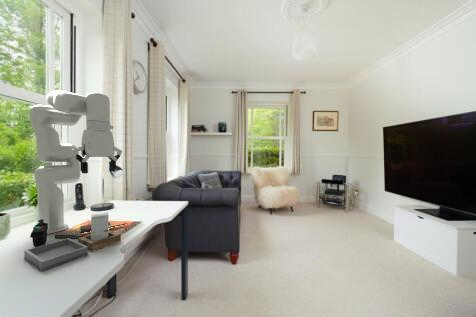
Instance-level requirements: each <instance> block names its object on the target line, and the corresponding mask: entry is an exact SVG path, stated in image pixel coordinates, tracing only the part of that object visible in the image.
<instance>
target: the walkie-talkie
mask: <svg viewBox="0 0 476 317" xmlns="http://www.w3.org/2000/svg"><path fill="white" fill-rule="evenodd" d="M125 224H127V225H128V223H127V222H126V223H125V222H124V223H121V224H116V225H112V224H111V222H110V221H108V228H111V227H115V226H120V225H123V226H126V225H125ZM79 227H80V228H79V230H81V232H80V231H79V233H84V232H90V231H91V222H88V224H86V225H80V226H79ZM120 227H121V226H120ZM79 233H78V234H79Z"/></svg>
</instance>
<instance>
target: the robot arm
mask: <svg viewBox="0 0 476 317" xmlns="http://www.w3.org/2000/svg"><path fill="white" fill-rule="evenodd" d="M46 102H47V104H48V105H45V104H37V105H33V106H31V108H30V109H29V116H28V117H29V121H30V125H31V127H32V128H33V131H34V133H35V140H36V141H35V142H36V153H37V154H36V155H37V159H38V160H39V162H41V163H48V165H47V164H46V165H42V166H39V167H37V168H36V169H35V170H34V173H33V175H34V181H35V185H36V191H37V192H36V194H37V224H38V223H39V222H38V220H41V219H44V221H43V222H44V223H48V229H47V235H49V234H54V233H58V232H59V233H60V232H62V231H65V230H67V229H68V228H69V225H68V224H67V223H65V210H64V208H65V205H64V204H65V203H64V202H65V200H64V192H63V190H62V189H61V188H60V187H59V186H58V185H64V184H73V183H77V182H79V181H80V178H81V174H89V164H88V162H87V161H88V160H89V158H108V159H109V163H108V164H109V166H108V170H109V172H112V173H113V172H116V169H117V161H118V160H119V158H120V157H121V155H122V154H123V150H122V149H120V148H118V147H116V146H115V141H114V136H113V135H114V134H113V131H112V130H113V129H114V125H111V108H110V107H111V104H110V103H111V101H110V98H109V96H108V95H106V94H104V93H100V92H99V93H98V92H89V93H87V94H86V96H85V95H82V94H76V93H74V92H67V91H62V90H53V91H51V92H49V93H48V94H47V96H46ZM83 116H84V117H85V121H86V122H85V126H86V128H85V129H83V132H82V136H81V143H80V146H78V147H77V146H76V145H75V144H71V143H61V142H60V135H59V134H60V133H59V132H58V130H56V129H55V128H54V127H53V126H52V125H56V126H57V125H58V126H67V127H71V126H72V127H73V126H76V125H77V124H78V123H79V121H80V120H81V119H82V117H83ZM79 152H80V153H79ZM115 152H116V153H115ZM49 163H65V164H50V165H49Z"/></svg>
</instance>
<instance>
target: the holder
mask: <svg viewBox="0 0 476 317" xmlns="http://www.w3.org/2000/svg"><path fill="white" fill-rule="evenodd" d="M121 237H122V234H121V233H118V232H114V231H111V230H108V237H107V238H104V239H101V240H98V241H95V242H94V241H92V240H91V233H89V234H88V235H87V234H86V235H84V236H81V237H78V239H77V240H78V241H77V242H79V243H81V244H83V245H85V246H88V252H89V251H90V252H92V253H93V252H95V251H98V250H101V249H103V248H107V247H109V246H112V245H114V244H117V243H121V242H122V238H121Z"/></svg>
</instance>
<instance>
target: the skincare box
mask: <svg viewBox="0 0 476 317" xmlns="http://www.w3.org/2000/svg"><path fill="white" fill-rule="evenodd" d="M90 217H91V218H90V220H91V222H90V224H91V233H90V234H91V240H92V241H94V242H95V241H98V240H101V239H104V238H107V237H108V222H109V212H102V213H101V212H100V213H93V214H91V216H90Z"/></svg>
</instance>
